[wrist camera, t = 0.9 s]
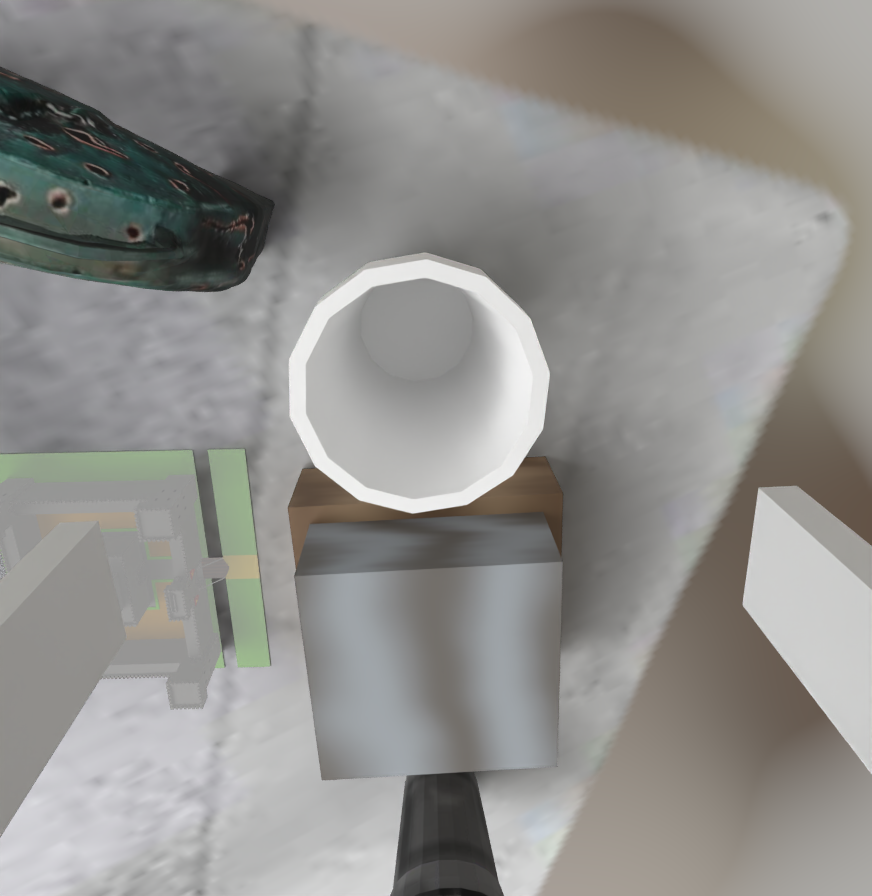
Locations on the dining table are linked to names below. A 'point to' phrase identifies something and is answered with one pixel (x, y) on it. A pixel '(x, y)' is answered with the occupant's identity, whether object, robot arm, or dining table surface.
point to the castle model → (151, 553)
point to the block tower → (431, 627)
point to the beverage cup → (444, 839)
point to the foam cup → (418, 384)
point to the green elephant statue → (115, 201)
